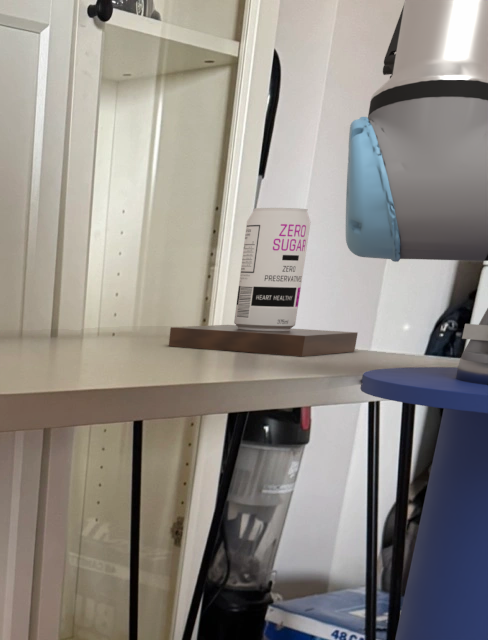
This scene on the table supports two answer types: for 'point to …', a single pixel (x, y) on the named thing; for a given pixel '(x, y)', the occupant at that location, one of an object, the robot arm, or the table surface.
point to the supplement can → (272, 269)
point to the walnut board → (263, 340)
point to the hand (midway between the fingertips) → (411, 138)
